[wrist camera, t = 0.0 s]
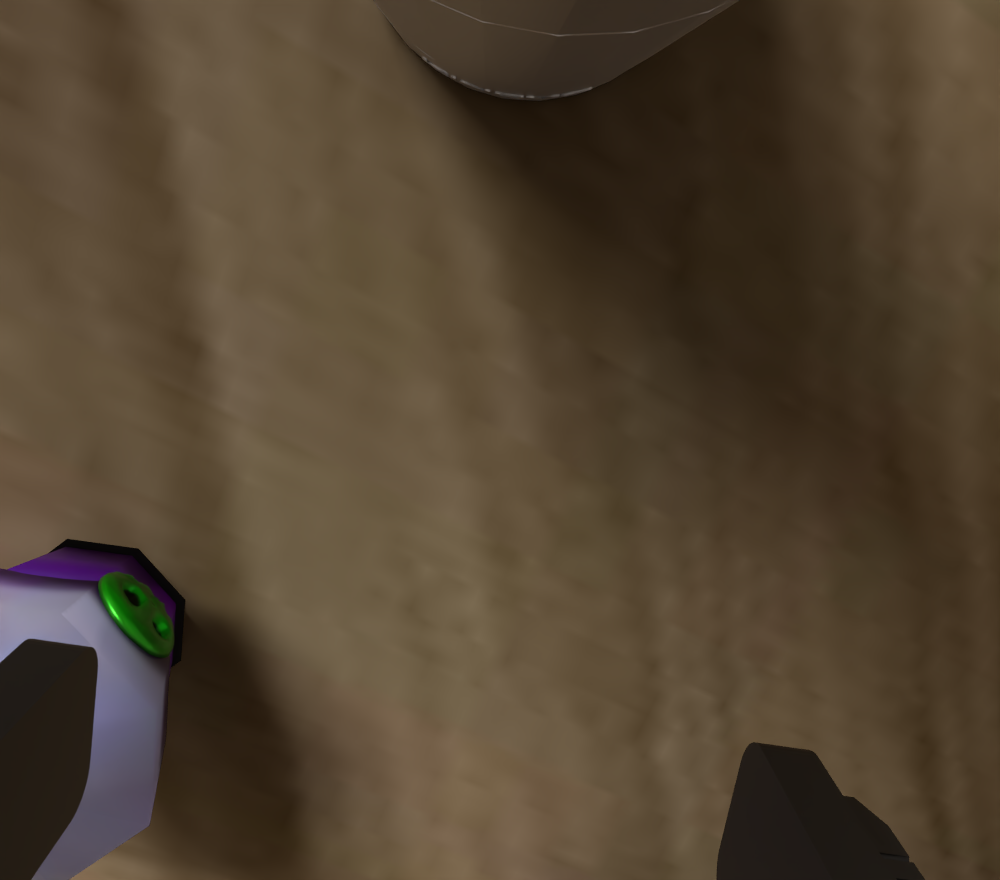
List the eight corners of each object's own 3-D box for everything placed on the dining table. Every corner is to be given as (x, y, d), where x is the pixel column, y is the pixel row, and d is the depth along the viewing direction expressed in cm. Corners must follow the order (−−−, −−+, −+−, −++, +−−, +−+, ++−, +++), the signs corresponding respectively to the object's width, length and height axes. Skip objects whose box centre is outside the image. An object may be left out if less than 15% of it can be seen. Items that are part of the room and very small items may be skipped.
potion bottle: (284, 576, 30) (154, 842, 18) (164, 780, 32) (-22, 1134, 20) (27, 440, 28) (-291, 633, 17) (-81, 661, 30) (-431, 969, 19)
